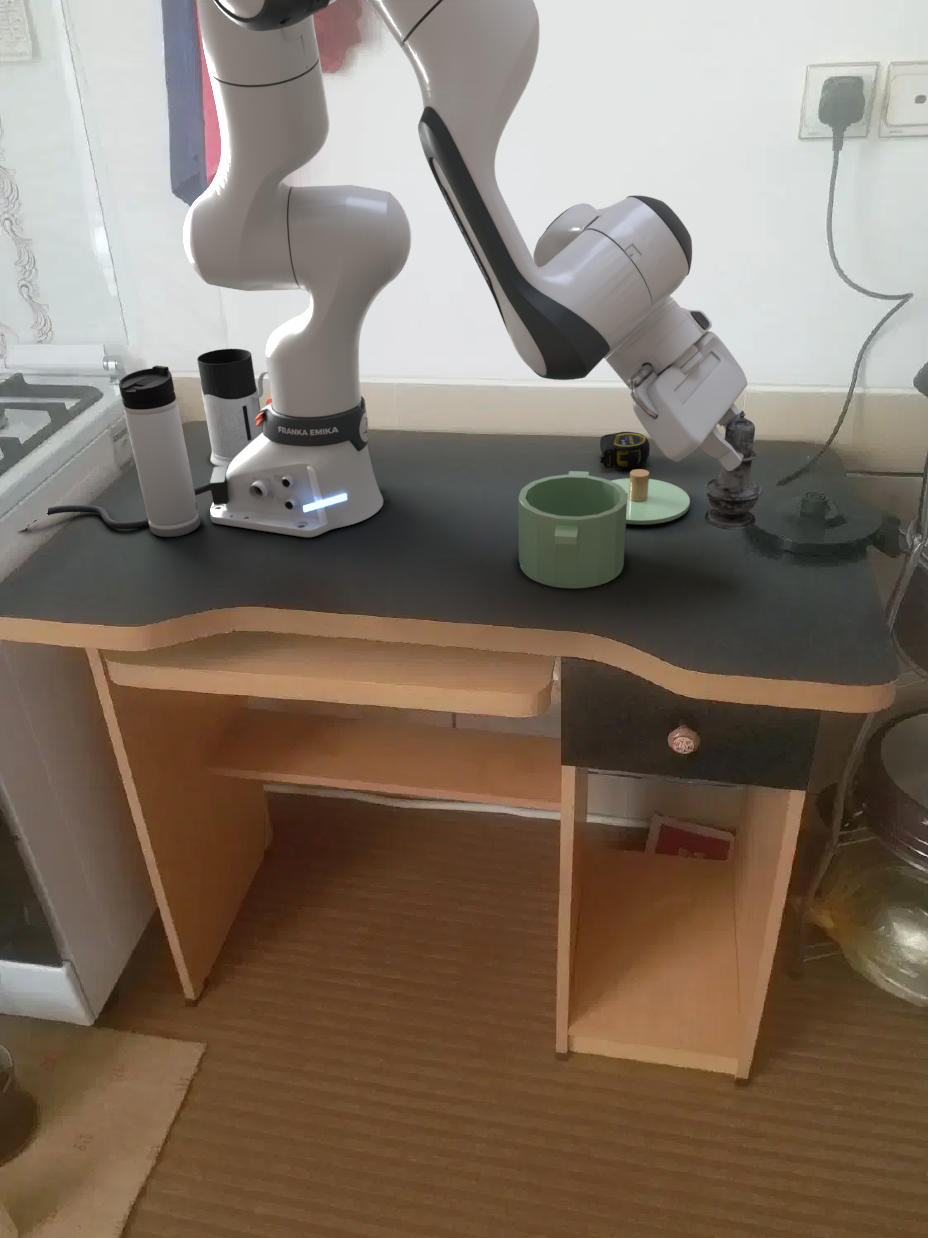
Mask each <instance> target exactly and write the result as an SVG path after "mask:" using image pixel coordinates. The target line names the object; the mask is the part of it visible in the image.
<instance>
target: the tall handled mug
mask: <svg viewBox="0 0 928 1238" xmlns="http://www.w3.org/2000/svg"><path fill="white" fill-rule="evenodd" d="M196 361H197V366H198V372H199V385H200V391H201V395H202V402H203V407H204V413H205V414H204V415H205V419H206V425H207V429H208V436H209V442H210V447H211V455H210V463H212V464H213V465H214V466H216V467H220V466H228V467H229V465H230V463H231V462H232V460H233V459H234V458H235V457H236V456H237V455H238V454H239V453H240V452H241V451H242V450H243V449H244V448H245V447H246V446H247V445H249V444H250V443H251V442H252V441H253V440H254V439H255V438H257V437H258V436H259V435H260V434H261V433H262V432H263V429H262V425H260V426H259V427H257V426H256V424H257V421H258V420H255V418H256V417H257V416H258V415H259V414H260V410H261V409H262V408H261V403H260V398H262V396H263V395H264V387H263V385H264V383H263V380H264V377H265V376H266V374H268V370H267V369H266V370H264V371H263V372H261V373H260V375H259V376H258V382H257V384H256V377H255V370H254V363H253V358H252V353H251V351H250V350H247V349H242V348H222V349H215V350H211V351H206V352H204V353H202V354H200V355H198V356H197V358H196Z"/></svg>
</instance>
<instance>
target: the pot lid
mask: <svg viewBox="0 0 928 1238" xmlns="http://www.w3.org/2000/svg"><path fill="white" fill-rule="evenodd" d="M611 481H612V482H614V483H616V484H618V485H620V486H621V487H622V488H623V489H624V490H625V491H626V493H627V494H628V499H627V517H626V525H627V524H628V525H642V526H643V525H656V524H657V525H658V524H663V523H667V522H671V521H674V520H676V519H679V518H681V517H682V516H684V515H685V514H686V513H687V512H688V510H689V509H690V505H691V498H690V496H689V494H688V493H687V491H685V490H683V489H682V488H681V487H679V486H677V485H675V484H672V483H670V482H668V481H667V482H666V481H663V480H659V479H653V478H650V472H649V470H647V469H642V468H637V469H631V470H630V472H629V477H625V478H618V479H617V478H616V479H612V480H611Z"/></svg>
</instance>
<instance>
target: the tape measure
mask: <svg viewBox="0 0 928 1238" xmlns="http://www.w3.org/2000/svg"><path fill="white" fill-rule="evenodd" d="M599 447H600V452H601V456H599V458H600V461H599V463H600V464H602V465H603V467H605V468H606V469H609V468H611V469H612V468H615V467H617V468H623V469H629V468H637V467H639V466H642V465H643V464H645V463H646V462H647V461H648V460H649V459H648V458H649V457H650V442H649V440H648V438H647V437H646V436H645V435H644V434H642V433H639V432H635V431H621V432H620V431H619V432H614V433H609V434H605V435H602V436H601V437H600V439H599Z"/></svg>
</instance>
